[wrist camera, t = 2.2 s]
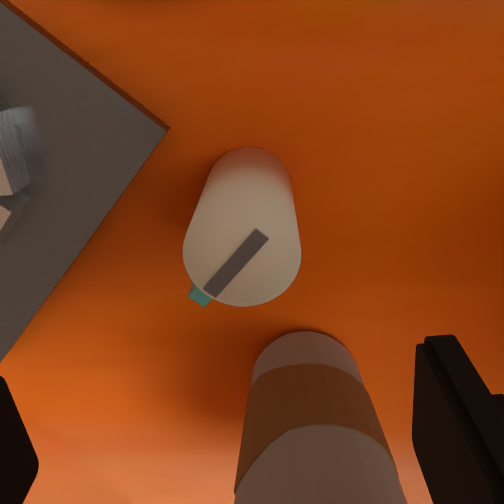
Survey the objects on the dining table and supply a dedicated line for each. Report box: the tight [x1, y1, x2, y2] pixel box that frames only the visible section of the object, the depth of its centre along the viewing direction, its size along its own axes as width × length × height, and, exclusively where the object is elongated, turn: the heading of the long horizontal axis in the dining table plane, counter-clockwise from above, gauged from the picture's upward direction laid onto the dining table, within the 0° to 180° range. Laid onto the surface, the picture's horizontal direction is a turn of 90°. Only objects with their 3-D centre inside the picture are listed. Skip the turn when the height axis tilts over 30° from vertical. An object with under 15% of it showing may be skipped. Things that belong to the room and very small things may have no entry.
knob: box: [183, 147, 301, 307], centre depth 21 cm, size 5×4×8 cm
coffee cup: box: [234, 331, 407, 504], centre depth 23 cm, size 8×8×15 cm
